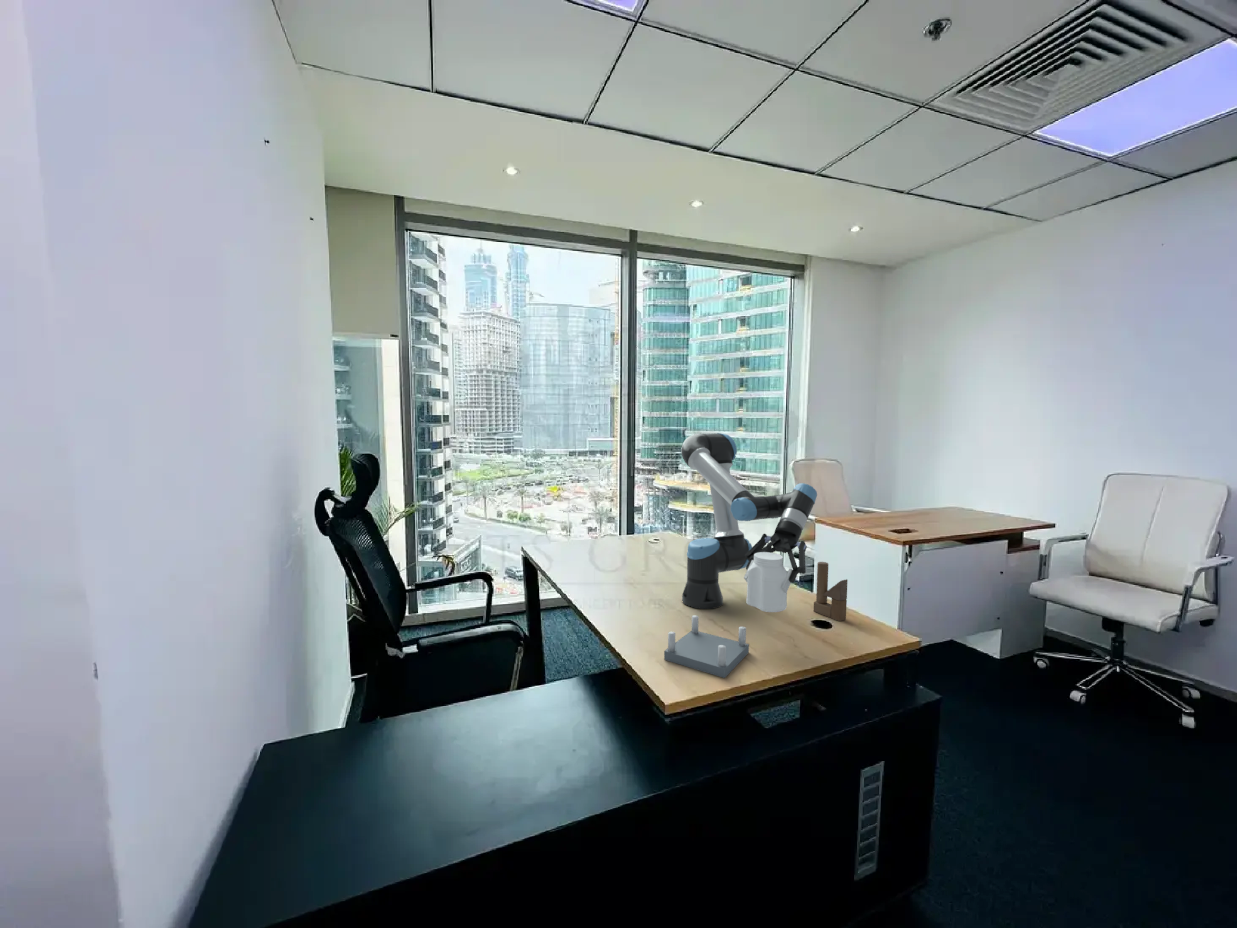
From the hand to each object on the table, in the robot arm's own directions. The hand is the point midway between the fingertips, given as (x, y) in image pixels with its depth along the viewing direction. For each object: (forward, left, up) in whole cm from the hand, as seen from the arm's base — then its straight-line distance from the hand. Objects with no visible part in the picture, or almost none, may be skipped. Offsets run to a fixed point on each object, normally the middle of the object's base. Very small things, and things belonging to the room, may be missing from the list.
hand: (764, 585), depth 145 cm
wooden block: (+11, +38, -19) cm, 44 cm away
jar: (0, +2, -7) cm, 7 cm away
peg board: (-11, -15, -19) cm, 27 cm away
